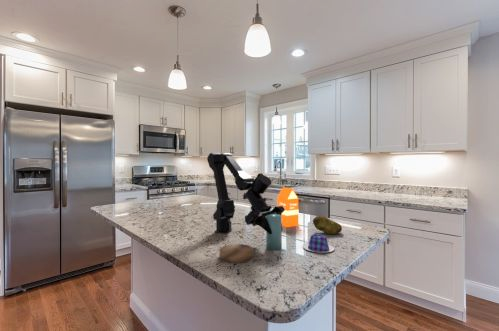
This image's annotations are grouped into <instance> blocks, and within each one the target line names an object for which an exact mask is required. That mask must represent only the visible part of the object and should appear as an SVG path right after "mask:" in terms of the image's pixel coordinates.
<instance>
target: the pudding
mask: <svg viewBox="0 0 499 331" xmlns="http://www.w3.org/2000/svg"><path fill="white" fill-rule="evenodd" d="M302 248H303V249H304V250H307V251H310V252H313V253H320V254H322V253H331V252H333V251H335V247H334V246H333V245H331V244H329V242H328V238H327V236H325V235H324V234H321V233H313V234H311V236H310V238H309V242H305V243H304V244H303V245H302Z"/></svg>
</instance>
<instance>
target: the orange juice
mask: <svg viewBox="0 0 499 331" xmlns="http://www.w3.org/2000/svg"><path fill="white" fill-rule="evenodd" d="M276 198H277V199H276V200H277V201H276V202H277V203H276V204H277V205H276V206H283V207H284V209H285V211H284V212H283V213H282V214H281V215H282V227H283V226H284V227H286V228H291V227H296V226H299V211H300V210H299V197H298V195H297V194H296V192H295V190H294V188H291V187H286V186H285V187H282V188H281V190H280V192H279V194H278V195H277V197H276Z"/></svg>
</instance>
